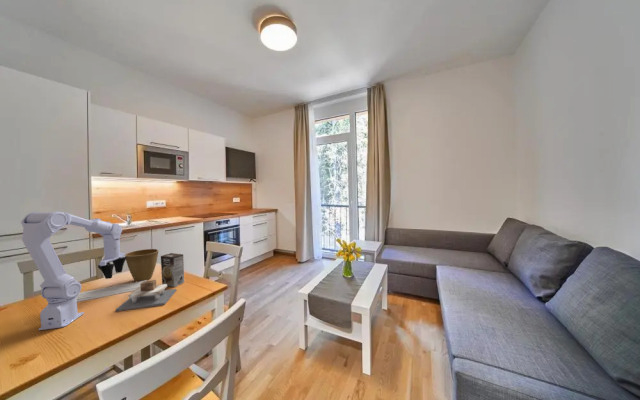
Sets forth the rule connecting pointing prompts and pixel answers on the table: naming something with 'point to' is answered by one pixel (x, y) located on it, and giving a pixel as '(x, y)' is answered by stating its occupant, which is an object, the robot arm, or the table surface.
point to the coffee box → (172, 269)
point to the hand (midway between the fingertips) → (114, 275)
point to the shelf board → (144, 293)
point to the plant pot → (142, 263)
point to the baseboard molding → (108, 291)
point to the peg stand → (147, 300)
